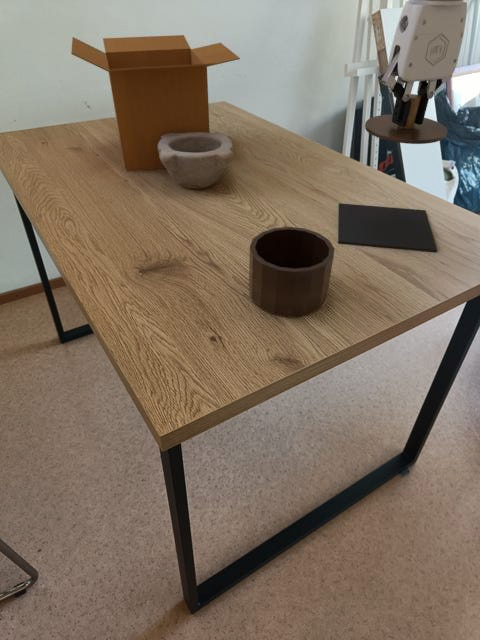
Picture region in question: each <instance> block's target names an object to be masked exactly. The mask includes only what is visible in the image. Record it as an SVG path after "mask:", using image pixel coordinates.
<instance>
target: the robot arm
mask: <svg viewBox="0 0 480 640" xmlns="http://www.w3.org/2000/svg"><path fill="white" fill-rule="evenodd" d="M467 11H468V3H467V2H465V0H408V1H405V3H404V5H403V7H402V10H401V14H400V16H399V19H398V22H397V25H396V28H395V32H394V36H393V40H392V43H391V47H390V48H391V49H390V51H389V52H390V53H389V55H388V61H387V62H388V63H387V69H386V71H385V73H384V75H383V76H382V78H381V84H382V85H384V86H386V87H387V88H389V89H390V91H391V92H392V95H393V98H395V103H394V107H393V111H392V114H393V116H392V122H393V123H395V124H397V125H399V126H401V127H405V126H406V124H407V119H408V115H409V111H410V107H411V101H409V98H410V95H411V94H412V91H413V87H414V83H415V82H418V86H417V91H416V93H417V94H416V95H419V96H421V100H420V104H419V108H418V112H417V116H416V120H415V123H416V124H418V125H420V124H422V123H423V120H424V118H425V116H426V112H427V108H428V104H429V100H431V99H432V98H433V97H434V95H435V92H436V91H438V89H439V88H440V87H441V86H442V85H443V84H445V83H446V82H448V81H449V80H451V79H452V77H453V74H454V73H455V71H456V68H457V65H458V62H459V61H458V60H459V57H460V53H461V48H462V44H463V39H464V33H465V29H466V22H467ZM396 77H397V79H396Z"/></svg>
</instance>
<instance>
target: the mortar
mask: <svg viewBox="0 0 480 640" xmlns="http://www.w3.org/2000/svg"><path fill="white" fill-rule="evenodd" d="M233 148H234V144H233V142H232V140H231V138H230V135H229V134H227V133H225V132H210V133H207V132H187V133H168V134H164V135H163V136H161V140H160V141H159V143H158V152H159V157H160V160H161V162H162V163H163V165H164V166H165V167H164V168H165V169H166V171H167V172H168V174H169V175H170V177H171V178H172V179H173V181H174V182H175V183H176V184H177V185H179V186H181V187H182V188H187V189H191V190H193V189H194V190H199V189H205V188H209V187H211V186H213V185H214V184H216V183H217V182H218V180H219V179H220V178H221V176H222V174H223V173H224V171H225V169H226V168H227V167H228V166H230V165H231V163H232V162H233V161H234V157H235V154H234V151H233Z"/></svg>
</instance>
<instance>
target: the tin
mask: <svg viewBox="0 0 480 640" xmlns="http://www.w3.org/2000/svg"><path fill="white" fill-rule="evenodd" d="M334 257H335V247H334V245H333V243H332V242H331V240H330V239H329V238H327V237H325V236H324V235H322V234H321V233H319V232H316V231H314V230H311V229H307V228H304V227H294V226H283V227H273V228H270V229H267V230H265V231H261V232H260V233H258V234H257V235H256V236H255V237H253V238H252V241H251V243H250V246H249V263H248V265H249V268H248V269H249V270H248V271H249V272H248V290H249V297H250V299H251V301H252V302H253V304H254V305H255V306H257V307H258V308H259V309H260V310H262V311H264V312H266V313H268V314H271V315H274V316H278V317H284V318H285V317H286V318H299V317H305V316H308V315H310V314H313V313H315V312H317V311H318V310H320V309H321V308H322V307H323V306H324V305H325V304H326V301H327V299H328V293H329V286H330V281H331V275H332V269H333V263H334Z"/></svg>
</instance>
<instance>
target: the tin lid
mask: <svg viewBox="0 0 480 640" xmlns="http://www.w3.org/2000/svg"><path fill="white" fill-rule="evenodd" d="M420 100H421V96H419V95H417V94H414V93H411V95H410V98H409V101H411V107H410V111H409V115H408V119H407V124H406V126H405V127H401V126H399V125H397V124H395V123H393V122H392V116H393V113H392V114H391V113H390V114H380V115H375V116H372V117H370V118H368V119H367V120H366V121H365V122H364V129H365V131H366V132H367V133H368V134H369V135H371V136H373V137H375V138H378V139H381V140H385V141H388V142H392V143H399V144H406V145H407V144H408V145H425V144H433V143H438V142H441V141H442V140H444V139H445V138H447V135H448V132H449V131H448V129H447V127H446V126H445V125H444V124H442V123H441V122H439V121H436V120H433V119H431V118H428V117H424V120H423V123H422V124H420V125H418V124H416V123H415V120H416V116H417V112H418V108H419V104H420Z"/></svg>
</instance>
